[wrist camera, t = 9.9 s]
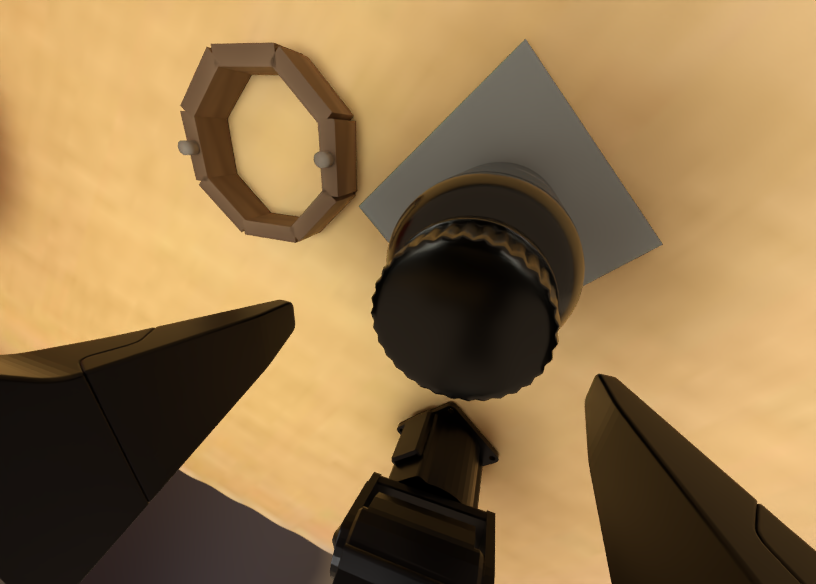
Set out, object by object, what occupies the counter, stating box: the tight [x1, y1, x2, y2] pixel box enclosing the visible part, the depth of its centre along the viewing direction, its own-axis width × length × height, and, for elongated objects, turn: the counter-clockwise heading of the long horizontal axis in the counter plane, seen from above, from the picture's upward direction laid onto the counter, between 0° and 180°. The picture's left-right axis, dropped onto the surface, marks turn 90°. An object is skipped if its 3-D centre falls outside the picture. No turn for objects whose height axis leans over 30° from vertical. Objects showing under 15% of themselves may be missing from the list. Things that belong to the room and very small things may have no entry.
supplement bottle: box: [371, 162, 585, 401], centre depth 13 cm, size 7×7×12 cm
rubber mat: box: [359, 39, 663, 286], centre depth 18 cm, size 12×12×1 cm
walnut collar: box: [178, 43, 357, 243], centre depth 20 cm, size 10×10×3 cm
